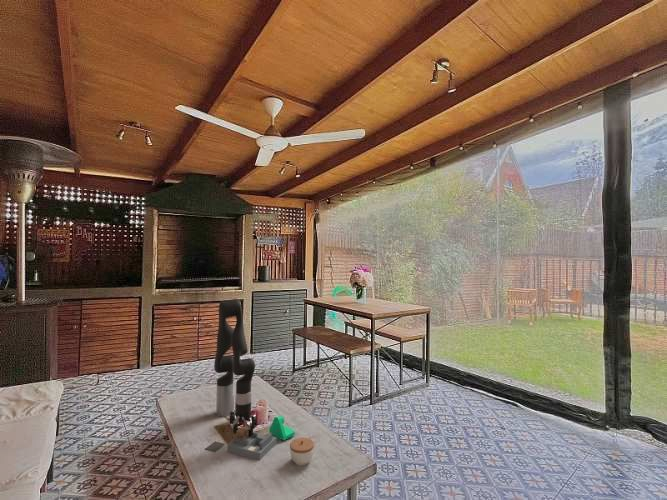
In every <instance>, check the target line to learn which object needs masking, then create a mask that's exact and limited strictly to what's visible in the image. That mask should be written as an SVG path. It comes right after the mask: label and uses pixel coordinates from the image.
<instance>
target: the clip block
mask: <svg viewBox="0 0 667 500" xmlns="http://www.w3.org/2000/svg"><path fill="white" fill-rule="evenodd" d="M248 429H249V428H248V426H241V427H239V428H238V430H237V431H236V434H235V437H236V438H240V439H245V440H247V439H248V438H249V437H248Z"/></svg>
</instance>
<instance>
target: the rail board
mask: <svg viewBox="0 0 667 500" xmlns="http://www.w3.org/2000/svg"><path fill="white" fill-rule="evenodd" d="M256 445H259V447H256ZM276 445H277V438H276V437H274V436H273V434H272V433H271V432H269V434H267V435H266V434H261V433H259V432H256V431H253V435H252V436H251V437H249V438H248V439H247V440H245V439H240V438H236V436H233V437H232V441H231V442H230V443H228V444H227V446H226V447H227V452H228V453H232V454H237V455H239V456H244V457H247V458H251V459H254V460H262V459H263V458H264V457H265V456H266V455H267V454H268V453H269V452H270V451H271V450H272V449H273V448H274V447H275V446H276Z"/></svg>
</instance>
